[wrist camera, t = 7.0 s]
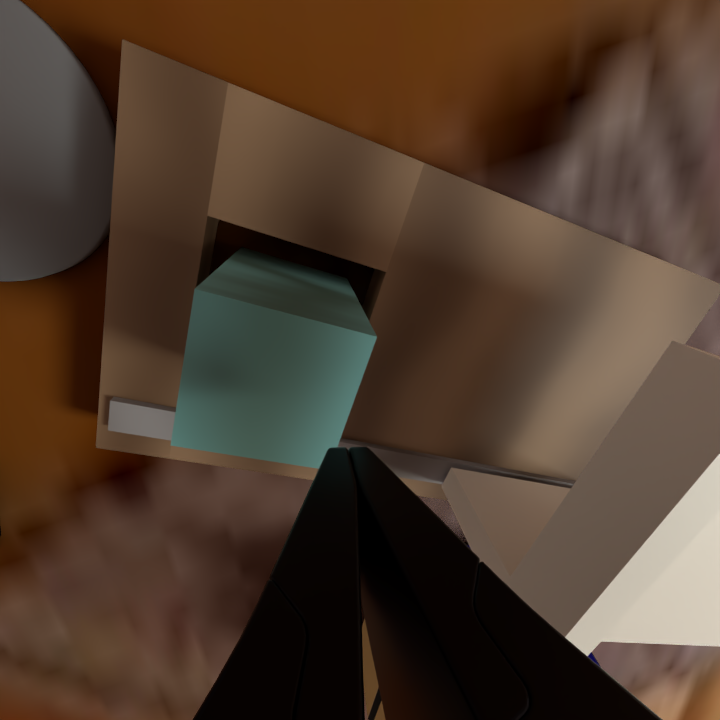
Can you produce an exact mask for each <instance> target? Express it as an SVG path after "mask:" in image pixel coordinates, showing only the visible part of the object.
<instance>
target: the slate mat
mask: <svg viewBox="0 0 720 720" xmlns="http://www.w3.org/2000/svg"><path fill="white" fill-rule="evenodd" d="M115 143H116V130H115V127H114V124H113V122H112V119H111V116H110V113H109V111H108V108H107V106H106V104H105V102H104V100H103V98H102V96H101V94H100V92H99V90H98V88H97V87H96V85H95V83H94V82H93V80H92V79H91V77H90V75H89V74H88V72H87V70H86V69H85V67H84V66H83V65H82V63H81V62H80V61H79V59H78V58H77V57H76V55H75V54H74V53H73V51H72V50H71V49H70V47H69V46H68V45H67V44H66V43H65V42H64V41H63V40H62V39H61V37H60V36H59V35H58V34H57V33H56V32H55V31H54V30H53V29H52V28H51V27H50V26H49V25H48V24H47V23H46V22H45V21H44V20H43V19H42V18H41V17H40V16H38V15H37V14H36V13H35V12H34V11H33V10H32V9H31V8H29V7H28V6H27V5H26V4H24V3H23V2H22V1H20V0H0V281H25V280H31V279H37V278H42V277H45V276H48V275H51V274H55V273H58V272H61V271H64V270H66V269H68V268H70V267H72V266H75V265H77V264H79V263H80V262H81V261H83V260H84V259H86V258H87V257H89V256H90V255H91V254H92V253H93V252H94V251H95V250H96V249H97V248H98V247H99V246H100V245H101V244H102V243H103V241H104V240H105V239H106V237H107V236H108V234H109V233H110V221H111V205H112V190H113V174H114V159H115Z"/></svg>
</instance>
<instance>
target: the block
mask: <svg viewBox="0 0 720 720" xmlns="http://www.w3.org/2000/svg"><path fill="white" fill-rule="evenodd" d="M376 338H377V336H376V334H375V332H374V330H373V328H372V326H371V324H370V322H369V320H368V318H367V316H366V314H365V312H364V310H363V308H362V307H361V305H360V303H359V301H358V299H357V297H356V295H355V293H354V291H353V289H352V287H351V285H350V283H349V281H348V279H347V278H344V277H341V276H337V275H334V274H331V273H327V272H324V271H321V270H317V269H314V268H311V267H307V266H304V265H301V264H297V263H294V262H291V261H287V260H284V259H280V258H277V257H274V256H270V255H267V254H264V253H260V252H257V251H254V250H250V249H247V248H244V247H241V248H240V249H239V250H238V251H237V252H235V253H234V254H233V255H232V256H231V257H230V258H229V259H228V260H226V261H225V262H224V263H223V264H222V265H221V266H220V267H219V268H217V269H216V270H215V271H214V272H213V273H212V274H211V275H210V276H208V277H207V278H206V279H205V280H204V281H203V282H202V283H201V284H199V285H198V286H197V287H196V288H195V289H194V296H193V302H192V309H191V315H190V322H189V328H188V335H187V341H186V348H185V354H184V361H183V367H182V374H181V380H180V387H179V393H178V400H177V406H176V413H175V419H174V426H173V432H172V439H171V445H170V446H177V447H183V448H189V449H196V450H202V451H208V452H215V453H221V454H228V455H234V456H240V457H247V458H253V459H260V460H266V461H272V462H279V463H285V464H291V465H298V466H304V467H311V468H317V469H319V467H320V465H321V463H322V461H323V459H324V456H325V454H326V452H327V450H328V449H329V448H331V447H337V446H338V444H339V441H340V438H341V435H342V433H343V430H344V427H345V424H346V422H347V419H348V416H349V413H350V410H351V408H352V405H353V402H354V399H355V397H356V394H357V391H358V388H359V386H360V383H361V380H362V377H363V374H364V372H365V369H366V366H367V363H368V361H369V358H370V355H371V352H372V350H373V347H374V344H375V341H376Z"/></svg>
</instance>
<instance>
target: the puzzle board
mask: <svg viewBox="0 0 720 720" xmlns="http://www.w3.org/2000/svg"><path fill="white" fill-rule="evenodd" d="M219 220H223V221H226V222H229V223H232V224H235V225H238V226H242V227H245V228H248V229H251V230H254V231H258V232H261V233H264V234H267V235H270V236H273V237H277V238H280V239H283V240H286V241H289V242H292V243H296V244H299V245H302V246H305V247H308V248H312V249H315V250H318V251H321V252H324V253H327V254H331V255H334V256H337V257H340V258H343V259H346V260H350V261H353V262H356V263H359V264H362V265H366V266H369V267H372V268H375V269H374V272H373V275H372V278H371V281H370V284H369V287H368V290H367V293H366V296H365V299H364V302H363V305H362V308H363V310H364V312H365V314H366V316H367V318H368V320H369V322H370V324H371V326H372V328H373V330H374V332H375V334H376V336H377V338H376V341H375V344H374V347H373V350H372V352H371V355H370V358H369V361H368V363H367V366H366V369H365V372H364V374H363V377H362V380H361V383H360V386H359V388H358V391H357V394H356V397H355V399H354V402H353V405H352V408H351V410H350V413H349V416H348V419H347V422H346V424H345V427H344V430H343V433H342V435H341V438H340V441H339V444H338V446H337V447H346V448H347V449H348V450H349V448H350V447H368V448H369V449H370V450H371V451H372V452H373V453H374V454H375V455H376V456H377V457H378V458H379V459H380V460H381V461H383V462H384V463H385V464H386V465H387V466H388V467H389V468H390V469H391V470H392V471H393V472H394V473H395V474H396V475H397V476H398V477H399V478H400V479H401V480H402V481H403V482H404V483H405V484H406V485H407V486H408V487H409V488H410V489H411V490H412V491H413V492H414V493H415V494H416V495H417V496H423V497H430V498H437V499H443V500H447V497H446V495H445V493H444V491H443V489H442V487H441V486H442V484H443V482H444V480H445V478H446V477H447V475H448V473H449V471H450V469H451V468H457V469H463V470H468V471H474V472H480V473H485V474H491V475H497V476H502V477H508V478H514V479H520V480H525V481H531V482H537V483H542V484H548V485H554V486H559V487H565V488H572V486H573V485H574V483H575V482H576V480H577V479H578V477H579V476H580V475H581V473H582V472H583V470H584V469H585V467H586V466H587V464H588V463H589V461H590V460H591V459H592V457H593V456H594V454H595V453H596V451H597V450H598V448H599V447H600V445H601V444H602V442H603V441H604V440H605V438H606V437H607V435H608V434H609V432H610V431H611V429H612V428H613V426H614V425H615V424H616V422H617V421H618V419H619V418H620V416H621V415H622V413H623V412H624V410H625V409H626V407H627V406H628V405H629V403H630V402H631V400H632V399H633V397H634V396H635V394H636V393H637V391H638V390H639V389H640V387H641V386H642V384H643V383H644V381H645V380H646V378H647V377H648V375H649V374H650V373H651V371H652V370H653V368H654V367H655V365H656V364H657V362H658V361H659V359H660V358H661V356H662V355H663V354H664V352H665V351H666V349H667V348H668V346H669V345H670V343H671V342H672V341H675V342H678V343H681V344H684V345H685V343H686V342H687V340H688V339H689V337H690V336H691V335H692V333H693V332H694V330H695V329H696V327H697V326H698V325H699V323H700V322H701V320H702V319H703V318H704V316H705V315H706V313H707V312H708V310H709V309H710V308H711V306H712V305H713V303H714V302H715V300H716V299H717V298H718V296H719V295H720V284H719V283H717V282H714V281H712V280H709V279H707V278H704V277H702V276H700V275H697V274H695V273H692V272H690V271H687V270H685V269H682V268H680V267H678V266H675V265H673V264H670V263H668V262H665V261H663V260H660V259H658V258H656V257H653V256H651V255H648V254H646V253H643V252H641V251H638V250H636V249H634V248H631V247H629V246H626V245H624V244H621V243H619V242H616V241H614V240H612V239H609V238H607V237H604V236H602V235H599V234H597V233H594V232H592V231H590V230H587V229H585V228H582V227H580V226H577V225H575V224H572V223H570V222H568V221H565V220H563V219H560V218H558V217H555V216H553V215H550V214H548V213H546V212H543V211H541V210H538V209H536V208H533V207H531V206H529V205H526V204H524V203H521V202H519V201H516V200H514V199H511V198H509V197H507V196H504V195H502V194H499V193H497V192H494V191H492V190H489V189H487V188H485V187H482V186H480V185H477V184H475V183H472V182H470V181H467V180H465V179H463V178H460V177H458V176H455V175H453V174H450V173H448V172H445V171H443V170H441V169H438V168H436V167H433V166H431V165H428V164H426V163H423V162H421V161H419V160H416V159H414V158H411V157H409V156H406V155H404V154H401V153H399V152H397V151H394V150H392V149H389V148H387V147H384V146H382V145H379V144H377V143H375V142H372V141H370V140H367V139H365V138H362V137H360V136H357V135H355V134H353V133H350V132H348V131H345V130H343V129H340V128H338V127H336V126H333V125H331V124H328V123H326V122H323V121H321V120H318V119H316V118H314V117H311V116H309V115H306V114H304V113H301V112H299V111H296V110H294V109H292V108H289V107H287V106H284V105H282V104H279V103H277V102H274V101H272V100H270V99H267V98H265V97H262V96H260V95H257V94H255V93H252V92H250V91H248V90H245V89H243V88H240V87H238V86H235V85H233V84H230V83H228V82H226V81H223V80H221V79H218V78H216V77H213V76H211V75H208V74H206V73H204V72H201V71H199V70H196V69H194V68H191V67H189V66H186V65H184V64H182V63H179V62H177V61H174V60H172V59H169V58H167V57H164V56H162V55H160V54H157V53H155V52H152V51H150V50H147V49H145V48H143V47H140V46H138V45H135V44H133V43H130V42H128V41H125V40H123V39H122V50H121V66H120V81H119V97H118V112H117V128H116V143H115V159H114V174H113V190H112V205H111V221H110V236H109V252H108V267H107V283H106V299H105V314H104V330H103V345H102V361H101V376H100V392H99V407H98V423H97V438H96V448H102V449H108V450H115V451H122V452H129V453H135V454H142V455H149V456H155V457H162V458H169V459H175V460H182V461H189V462H196V463H202V464H209V465H216V466H222V467H229V468H236V469H242V470H249V471H256V472H262V473H269V474H276V475H283V476H289V477H296V478H303V479H309V480H314V478H315V476H316V474H317V472H318V470H319V469H317V468H311V467H304V466H298V465H291V464H285V463H279V462H272V461H266V460H260V459H253V458H247V457H240V456H234V455H228V454H221V453H215V452H208V451H202V450H196V449H189V448H183V447H177V446H170V445H171V439H172V432H173V426H174V419H175V413H176V406H177V400H178V393H179V387H180V380H181V374H182V367H183V361H184V354H185V348H186V341H187V335H188V328H189V322H190V315H191V309H192V302H193V296H194V289H195V288H196V287H197V286H198V285H199V284H201V283H202V282H203V281H204V280H205V279H206V278H207V277H208V276H209V274H210V268H211V262H212V256H213V250H214V244H215V238H216V232H217V226H218V221H219Z"/></svg>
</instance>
